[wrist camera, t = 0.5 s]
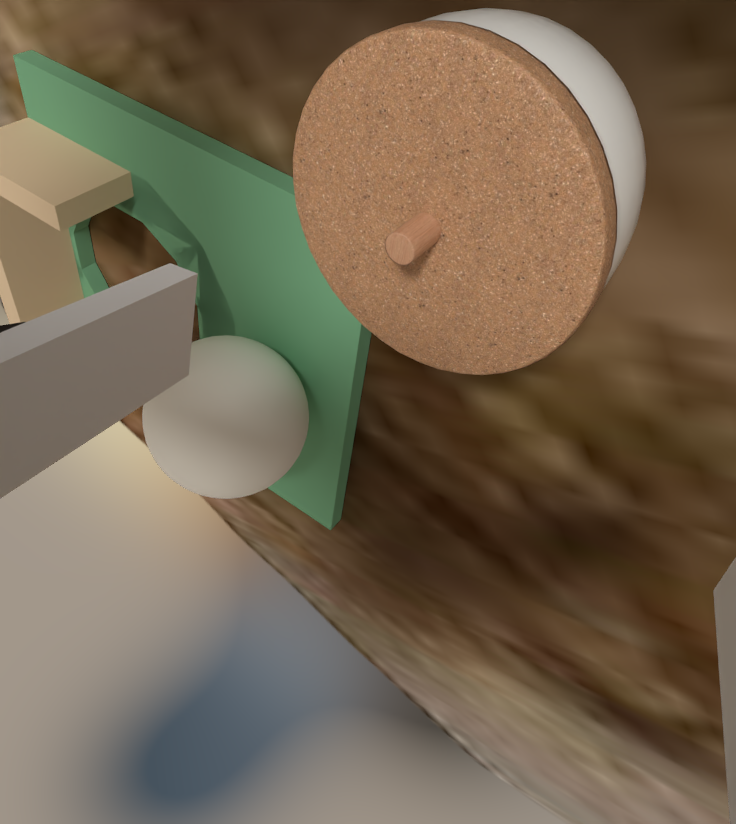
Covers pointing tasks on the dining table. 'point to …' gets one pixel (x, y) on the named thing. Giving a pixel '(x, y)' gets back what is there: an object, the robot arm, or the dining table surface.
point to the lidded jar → (470, 185)
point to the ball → (229, 419)
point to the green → (179, 246)
